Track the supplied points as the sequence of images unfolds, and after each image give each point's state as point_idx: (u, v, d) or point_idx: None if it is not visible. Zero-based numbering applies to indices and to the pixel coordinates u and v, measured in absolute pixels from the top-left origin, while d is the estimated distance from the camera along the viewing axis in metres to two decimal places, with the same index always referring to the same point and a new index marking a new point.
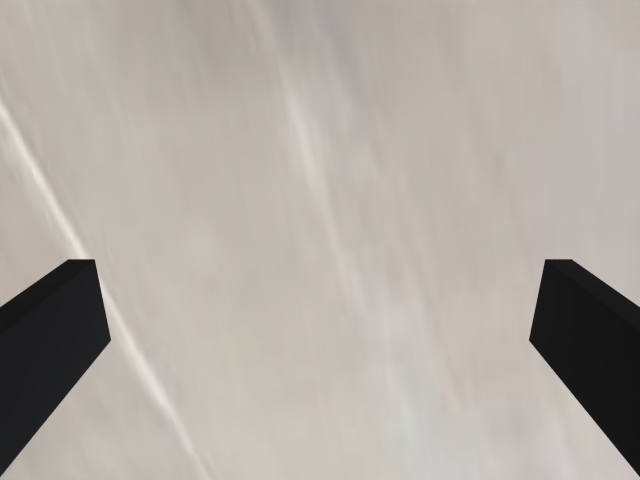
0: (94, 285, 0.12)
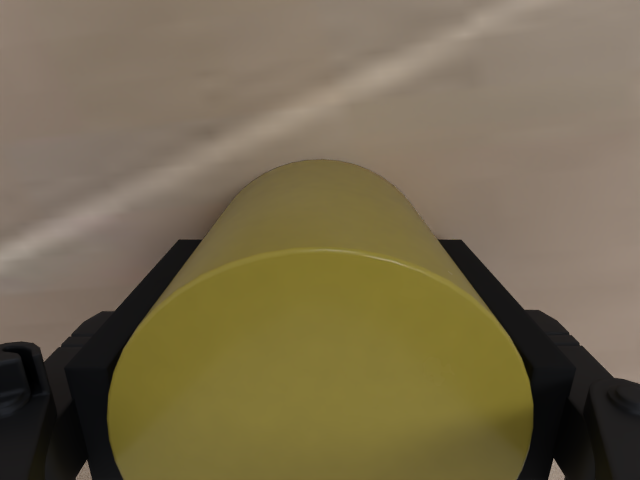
0: None
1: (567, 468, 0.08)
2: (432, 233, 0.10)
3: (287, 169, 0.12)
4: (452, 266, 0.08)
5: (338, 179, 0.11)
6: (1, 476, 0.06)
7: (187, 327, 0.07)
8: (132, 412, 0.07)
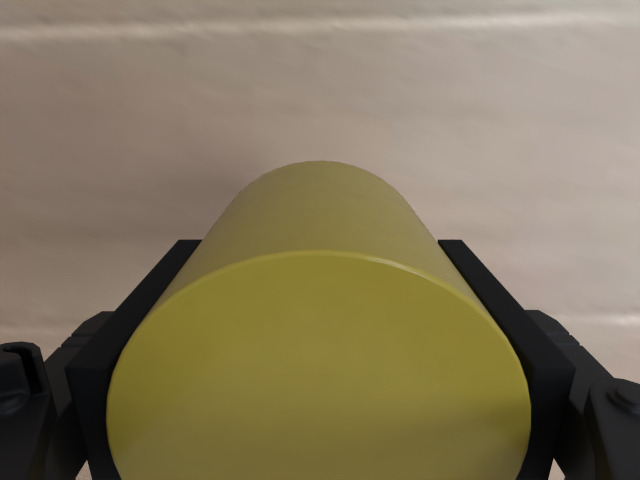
0: None
1: (567, 468, 0.08)
2: (431, 235, 0.11)
3: (286, 170, 0.13)
4: (450, 268, 0.08)
5: (337, 181, 0.11)
6: (1, 476, 0.06)
7: (186, 330, 0.07)
8: (131, 414, 0.07)
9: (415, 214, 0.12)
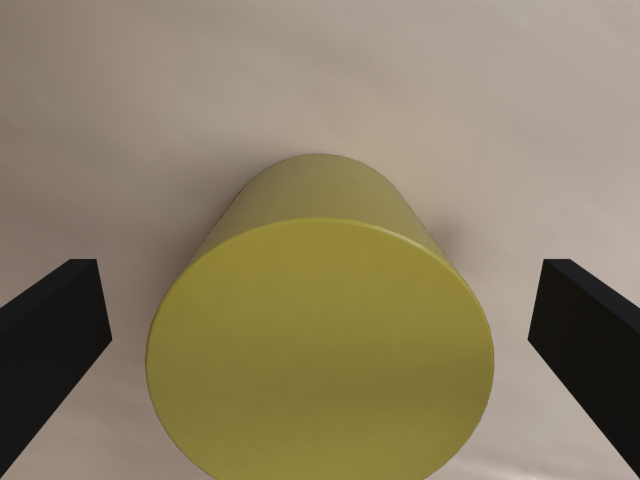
0: (96, 284, 0.12)
1: None
2: (416, 216, 0.12)
3: (290, 162, 0.14)
4: (428, 238, 0.09)
5: (335, 170, 0.12)
6: None
7: (213, 283, 0.08)
8: (166, 355, 0.09)
9: (404, 200, 0.13)
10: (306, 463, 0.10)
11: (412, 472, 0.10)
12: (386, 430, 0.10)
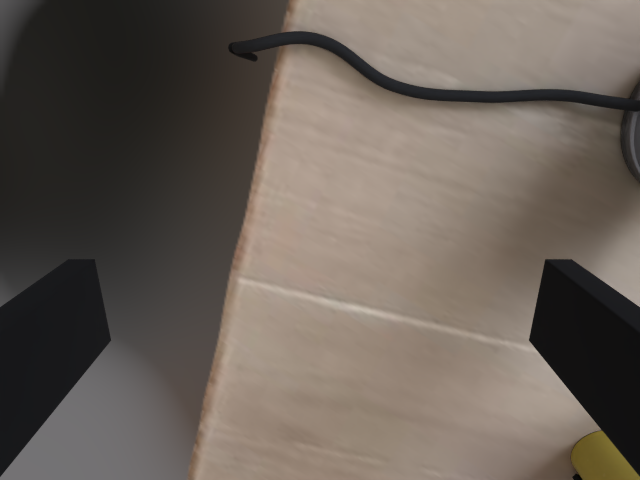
0: (94, 285, 0.12)
1: None
2: None
3: (605, 437, 0.52)
4: None
5: None
6: None
7: None
8: None
9: None
10: None
11: None
12: None
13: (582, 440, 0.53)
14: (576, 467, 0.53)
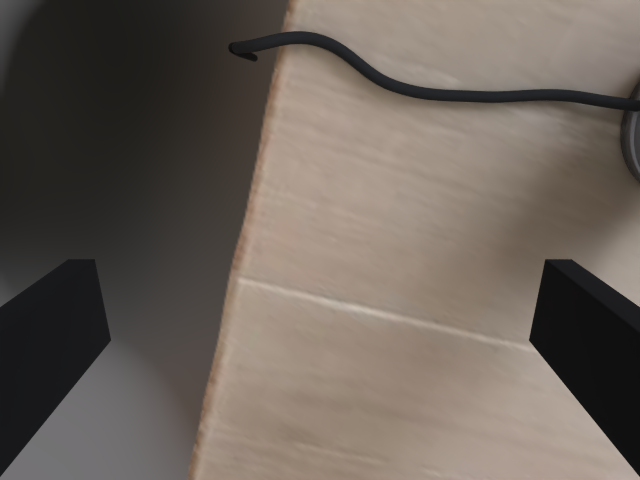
0: (94, 285, 0.12)
1: None
2: None
3: None
4: None
5: None
6: None
7: None
8: None
9: None
10: None
11: None
12: None
13: None
14: None
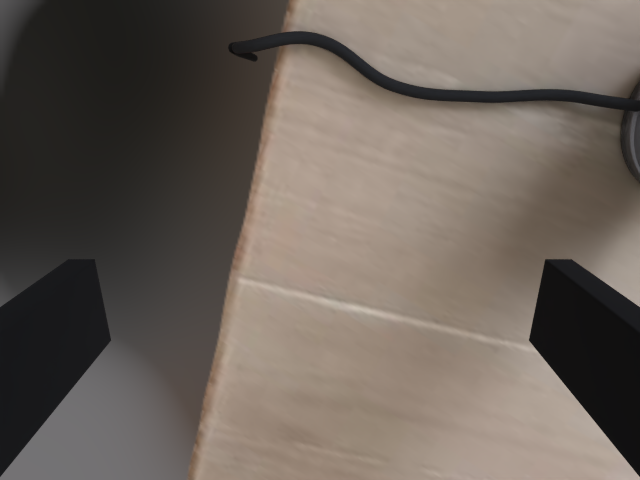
0: (94, 285, 0.12)
1: None
2: None
3: None
4: None
5: None
6: None
7: None
8: None
9: None
10: None
11: None
12: None
13: None
14: None
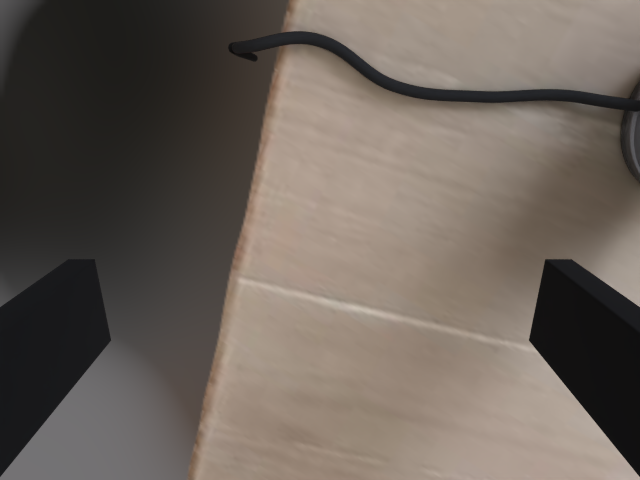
0: (94, 285, 0.12)
1: None
2: None
3: None
4: None
5: None
6: None
7: None
8: None
9: None
10: None
11: None
12: None
13: None
14: None
